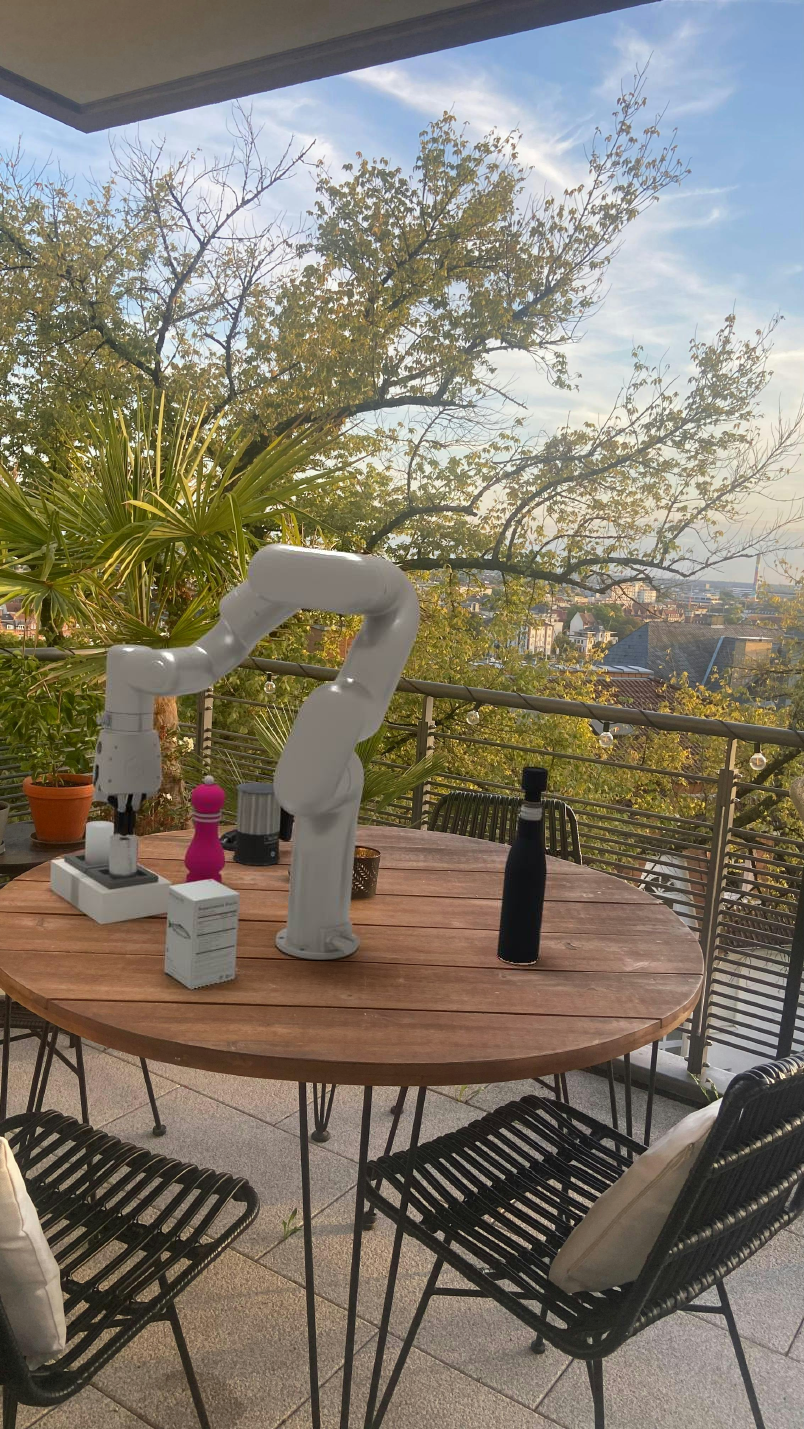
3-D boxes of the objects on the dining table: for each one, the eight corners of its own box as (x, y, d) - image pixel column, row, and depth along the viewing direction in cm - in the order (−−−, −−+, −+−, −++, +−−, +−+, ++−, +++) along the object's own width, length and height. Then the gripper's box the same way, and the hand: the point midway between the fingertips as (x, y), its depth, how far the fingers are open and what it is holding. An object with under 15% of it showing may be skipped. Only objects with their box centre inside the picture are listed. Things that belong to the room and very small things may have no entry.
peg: (140, 910, 160) (143, 838, 158) (114, 914, 157) (117, 842, 155) (127, 902, 163) (130, 832, 162) (102, 906, 160) (105, 835, 159)
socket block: (170, 912, 160) (173, 840, 158) (101, 924, 152) (103, 849, 150) (116, 879, 175) (118, 813, 173) (50, 888, 167) (52, 820, 165)
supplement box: (162, 972, 136) (166, 884, 134) (209, 962, 141) (213, 877, 139) (189, 991, 130) (193, 900, 129) (236, 979, 135) (241, 892, 134)
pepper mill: (219, 892, 172) (225, 781, 169) (178, 889, 172) (184, 778, 169) (227, 880, 179) (233, 773, 176) (188, 877, 179) (193, 770, 176)
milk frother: (265, 869, 187) (270, 794, 185) (194, 856, 192) (198, 782, 191) (297, 852, 201) (302, 782, 199) (230, 840, 206) (234, 771, 204)
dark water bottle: (489, 951, 153) (507, 764, 149) (525, 949, 156) (543, 764, 152) (508, 967, 147) (526, 772, 144) (545, 964, 150) (564, 773, 146)
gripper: (94, 727, 148) (90, 844, 151) (182, 724, 158) (176, 834, 160) (73, 720, 154) (70, 833, 156) (160, 717, 164) (155, 823, 166)
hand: (124, 833), depth 158 cm, fingers closed
